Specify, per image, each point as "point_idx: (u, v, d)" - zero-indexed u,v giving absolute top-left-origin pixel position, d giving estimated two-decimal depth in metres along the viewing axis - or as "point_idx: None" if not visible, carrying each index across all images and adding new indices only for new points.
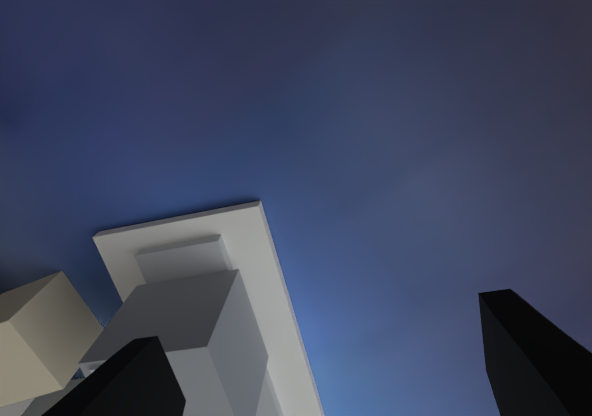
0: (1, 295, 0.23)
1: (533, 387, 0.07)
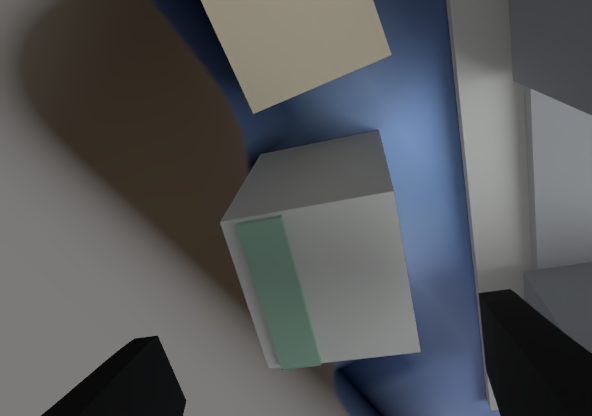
0: None
1: (533, 387, 0.07)
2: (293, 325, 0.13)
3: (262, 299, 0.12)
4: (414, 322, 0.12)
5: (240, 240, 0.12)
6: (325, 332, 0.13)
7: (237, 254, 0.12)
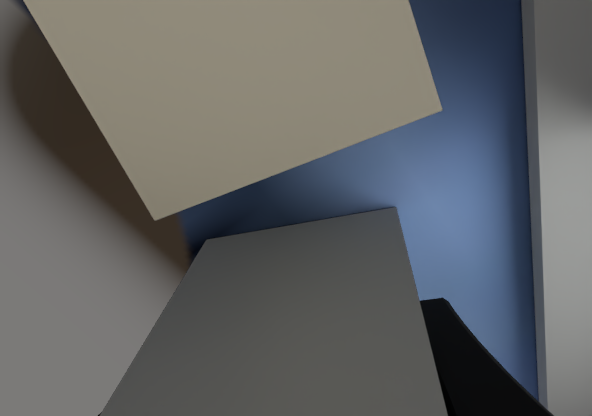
0: None
1: (443, 395, 0.07)
2: None
3: None
4: None
5: None
6: None
7: None
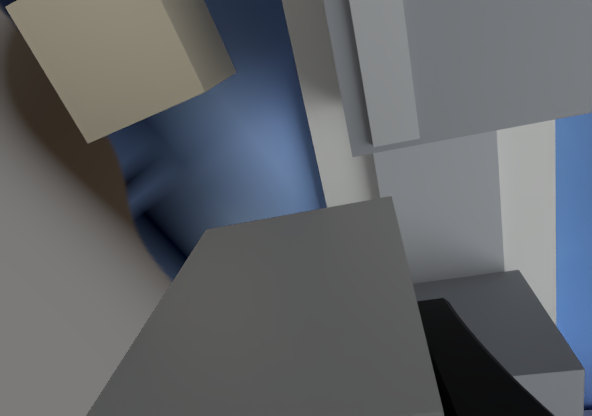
0: None
1: (444, 395, 0.07)
2: None
3: None
4: None
5: None
6: None
7: None
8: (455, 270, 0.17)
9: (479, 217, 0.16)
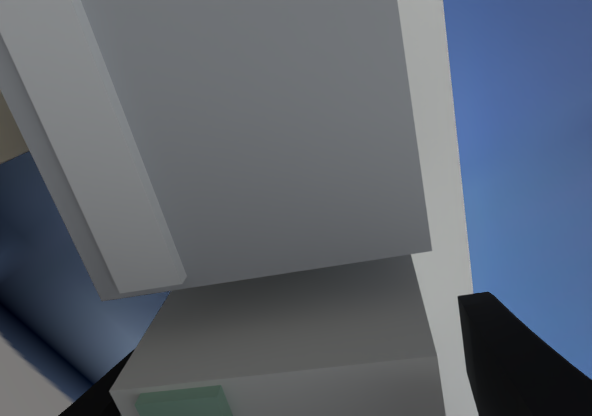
0: None
1: (504, 390, 0.07)
2: None
3: None
4: None
5: None
6: None
7: None
8: None
9: None
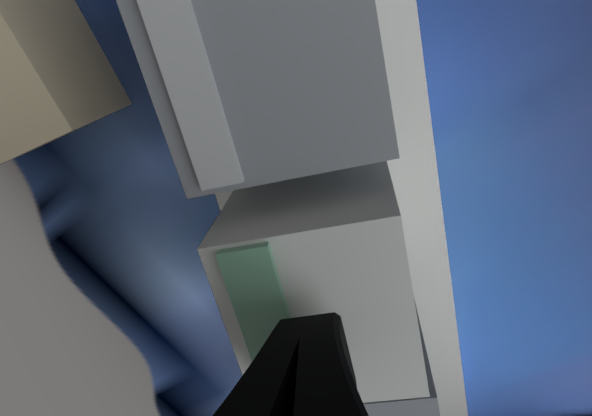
0: None
1: None
2: None
3: (248, 337, 0.11)
4: (423, 363, 0.11)
5: (221, 270, 0.10)
6: None
7: (218, 286, 0.10)
8: None
9: None
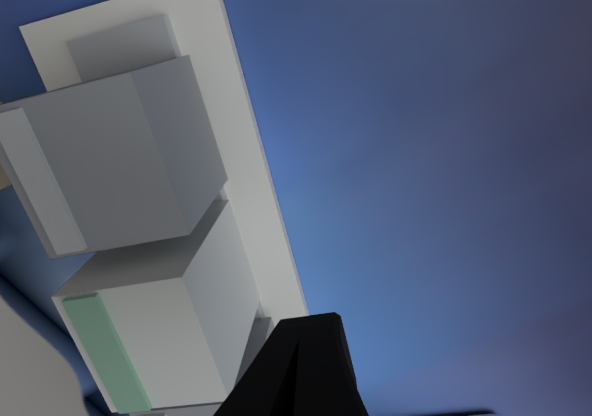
0: None
1: None
2: (121, 378, 0.15)
3: (93, 358, 0.15)
4: (219, 377, 0.15)
5: (68, 312, 0.14)
6: (151, 384, 0.15)
7: (69, 322, 0.15)
8: None
9: None
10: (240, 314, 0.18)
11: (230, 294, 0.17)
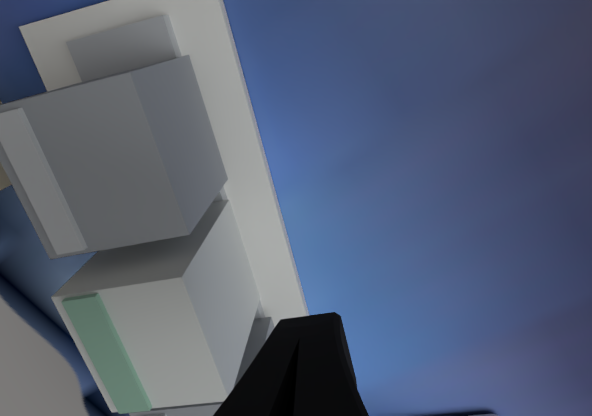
0: None
1: None
2: (121, 378, 0.15)
3: (93, 358, 0.15)
4: (219, 377, 0.15)
5: (68, 312, 0.14)
6: (151, 384, 0.15)
7: (69, 322, 0.15)
8: None
9: None
10: (240, 314, 0.18)
11: (230, 294, 0.17)
